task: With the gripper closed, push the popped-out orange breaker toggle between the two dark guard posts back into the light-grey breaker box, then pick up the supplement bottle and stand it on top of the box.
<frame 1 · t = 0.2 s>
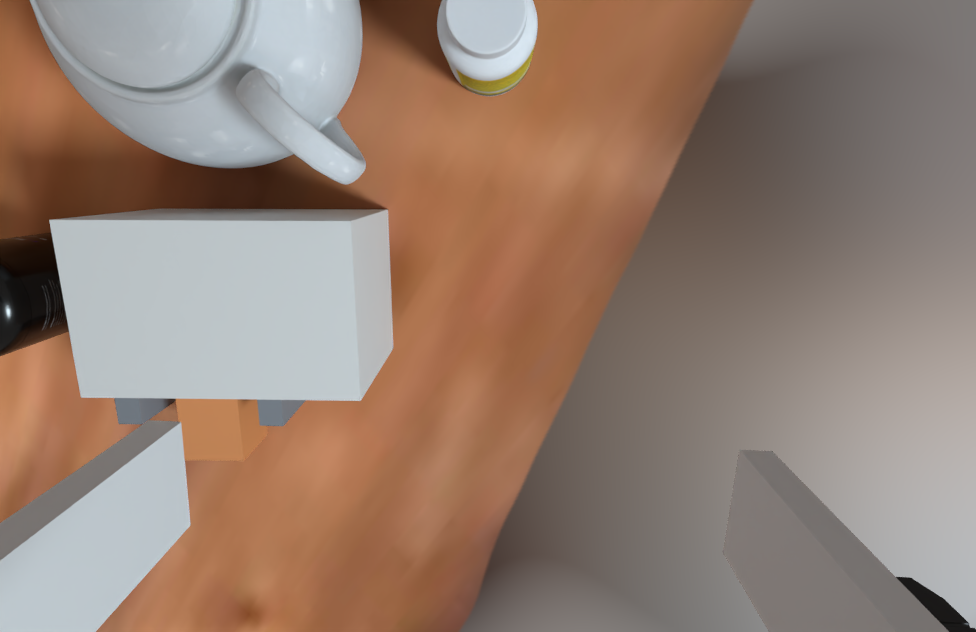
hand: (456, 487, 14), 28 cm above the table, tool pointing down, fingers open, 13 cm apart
breaker box: (279, 280, 41), on the table
supplement bottle: (74, 278, 42), on the table
supplement bottle 2: (489, 53, 37), on the table
teapot: (244, 37, 38), on the table
breaker toggle: (222, 395, 39), point 4 cm above the table, slide at 0.0 cm
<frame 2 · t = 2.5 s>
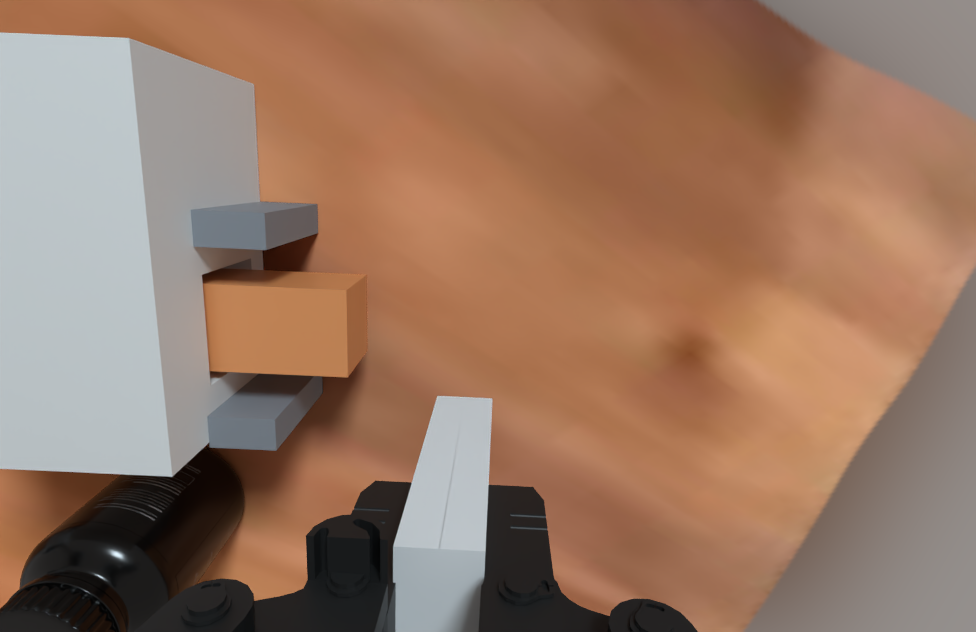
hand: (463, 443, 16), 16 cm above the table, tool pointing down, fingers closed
breaker box: (168, 240, 31), on the table
supplement bottle: (193, 491, 34), on the table
breaker toggle: (279, 319, 27), point 4 cm above the table, slide at 0.0 cm
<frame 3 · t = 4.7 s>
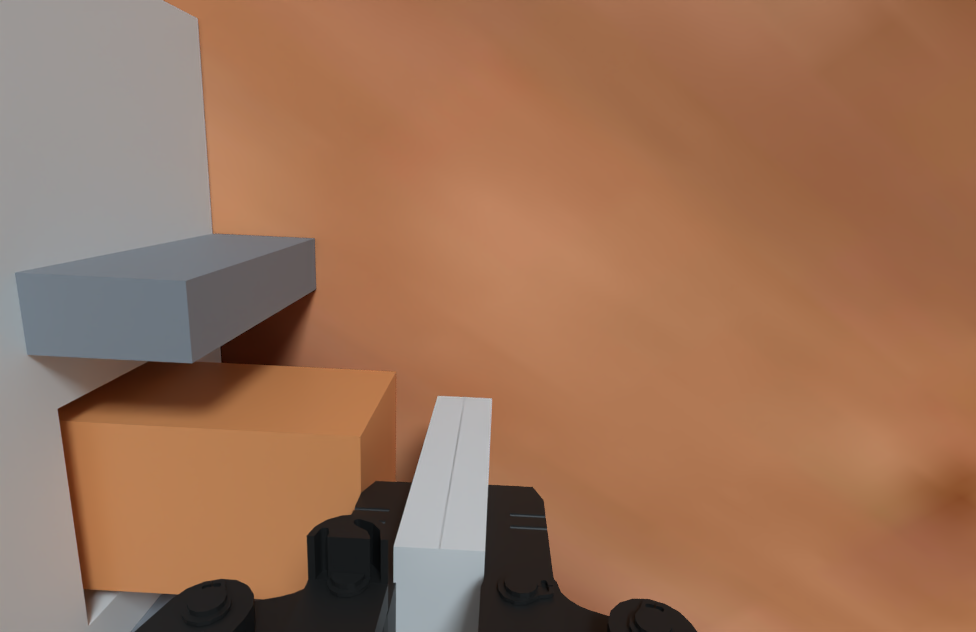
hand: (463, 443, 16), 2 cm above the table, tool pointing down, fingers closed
breaker box: (53, 300, 17), on the table
breaker toggle: (228, 467, 14), point 4 cm above the table, slide at 0.2 cm, touching gripper
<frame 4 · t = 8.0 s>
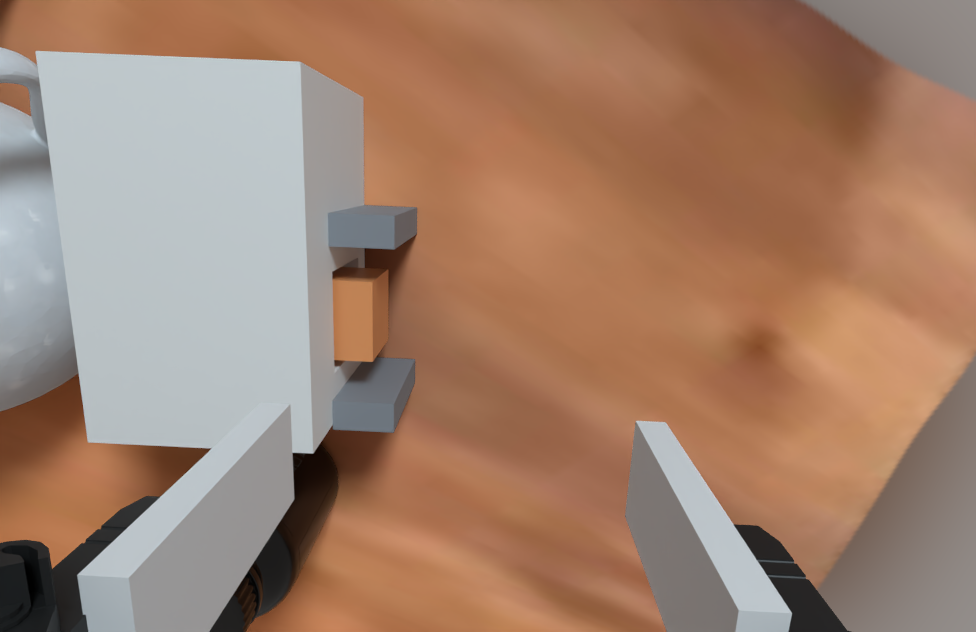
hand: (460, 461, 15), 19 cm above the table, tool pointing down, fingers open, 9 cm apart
breaker box: (278, 241, 33), on the table
supplement bottle: (289, 474, 37), on the table
teapot: (11, 245, 34), on the table
breaker toggle: (309, 309, 30), point 4 cm above the table, slide at 4.2 cm
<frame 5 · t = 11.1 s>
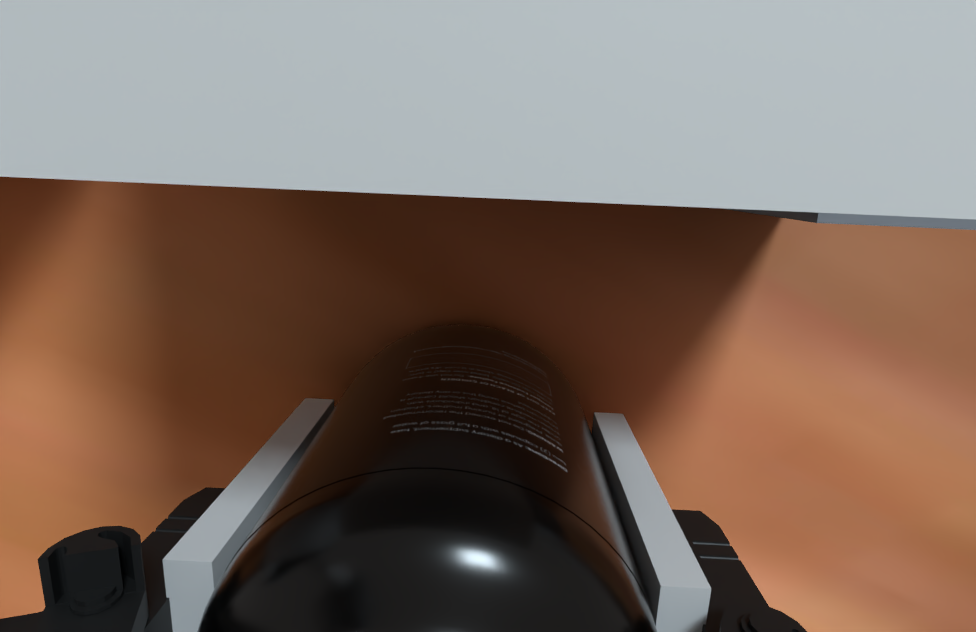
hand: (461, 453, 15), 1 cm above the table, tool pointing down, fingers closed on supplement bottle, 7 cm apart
supplement bottle: (464, 433, 16), on the table, touching gripper
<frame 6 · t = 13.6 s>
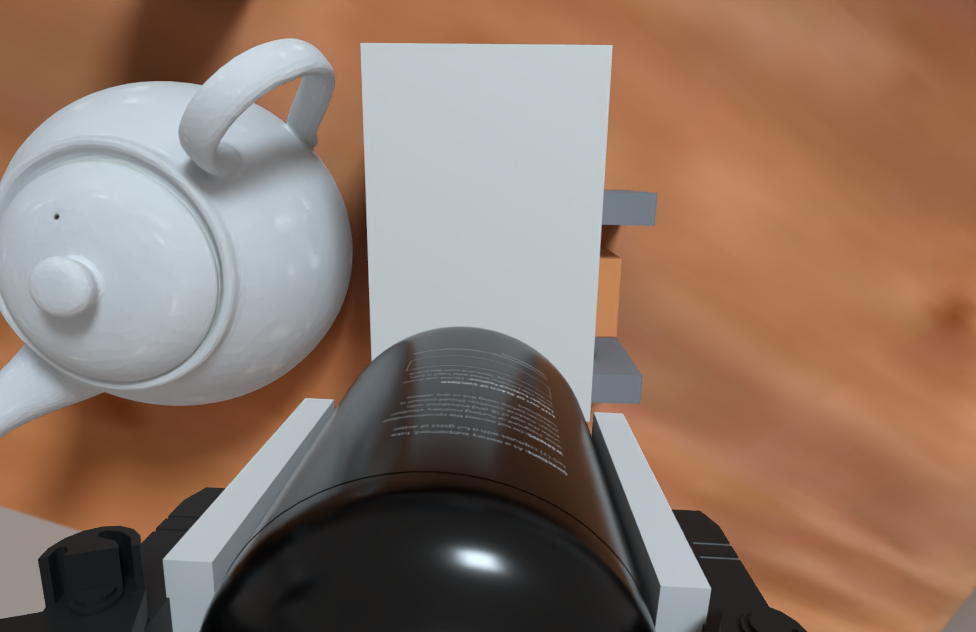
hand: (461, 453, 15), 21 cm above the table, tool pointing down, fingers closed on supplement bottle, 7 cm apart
breaker box: (489, 226, 34), on the table
supplement bottle: (464, 435, 16), point 20 cm above the table, touching gripper
teapot: (229, 238, 35), on the table
breaker toggle: (542, 289, 31), point 4 cm above the table, slide at 4.2 cm
when the fingers open (12 cm above the table, at t = 16.0 s): supplement bottle drops 1 cm, resting on breaker box.
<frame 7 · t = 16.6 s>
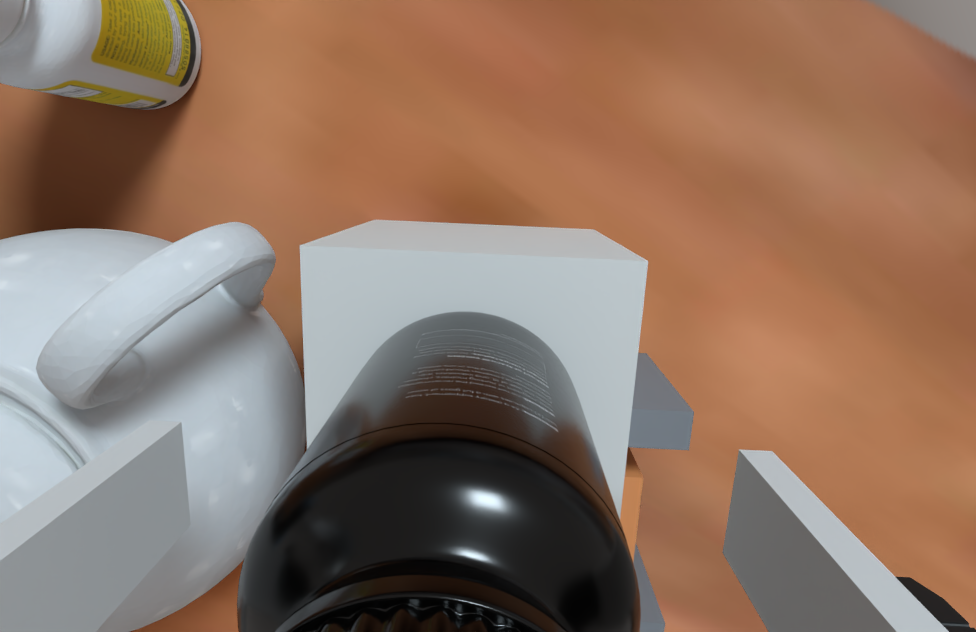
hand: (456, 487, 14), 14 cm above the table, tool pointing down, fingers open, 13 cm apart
breaker box: (477, 389, 28), on the table
supplement bottle: (467, 412, 18), point 10 cm above the table, touching breaker box
supplement bottle 2: (145, 46, 25), on the table
teapot: (158, 390, 29), on the table
breaker toggle: (540, 491, 25), point 4 cm above the table, slide at 4.2 cm
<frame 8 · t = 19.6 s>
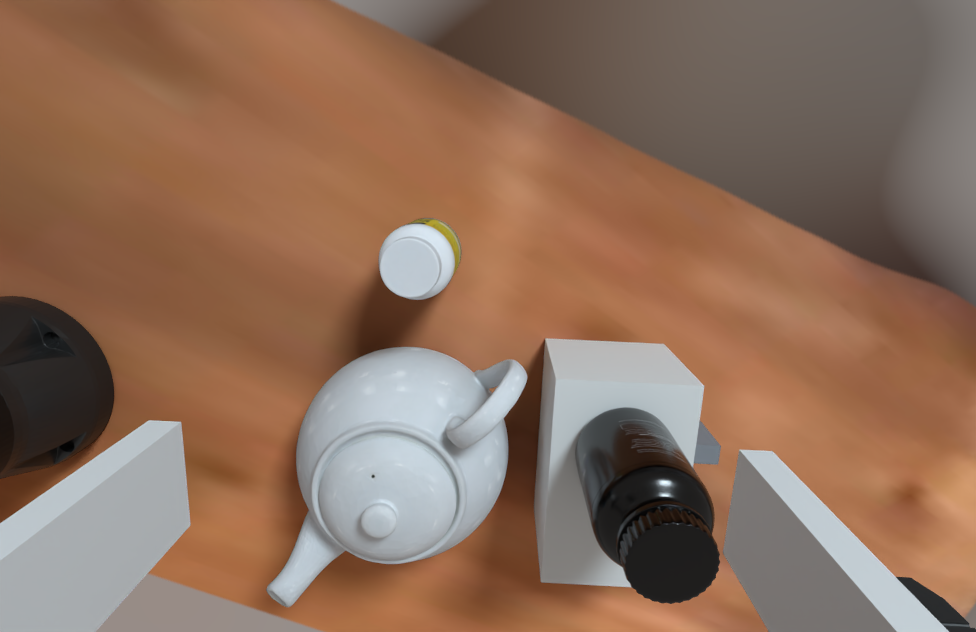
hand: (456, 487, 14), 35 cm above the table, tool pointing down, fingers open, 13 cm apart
breaker box: (596, 428, 50), on the table
supplement bottle: (622, 448, 40), point 10 cm above the table, touching breaker box
supplement bottle 2: (429, 250, 47), on the table
teapot: (414, 428, 51), on the table
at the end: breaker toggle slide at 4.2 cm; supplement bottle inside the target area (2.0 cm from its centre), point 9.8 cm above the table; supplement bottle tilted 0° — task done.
